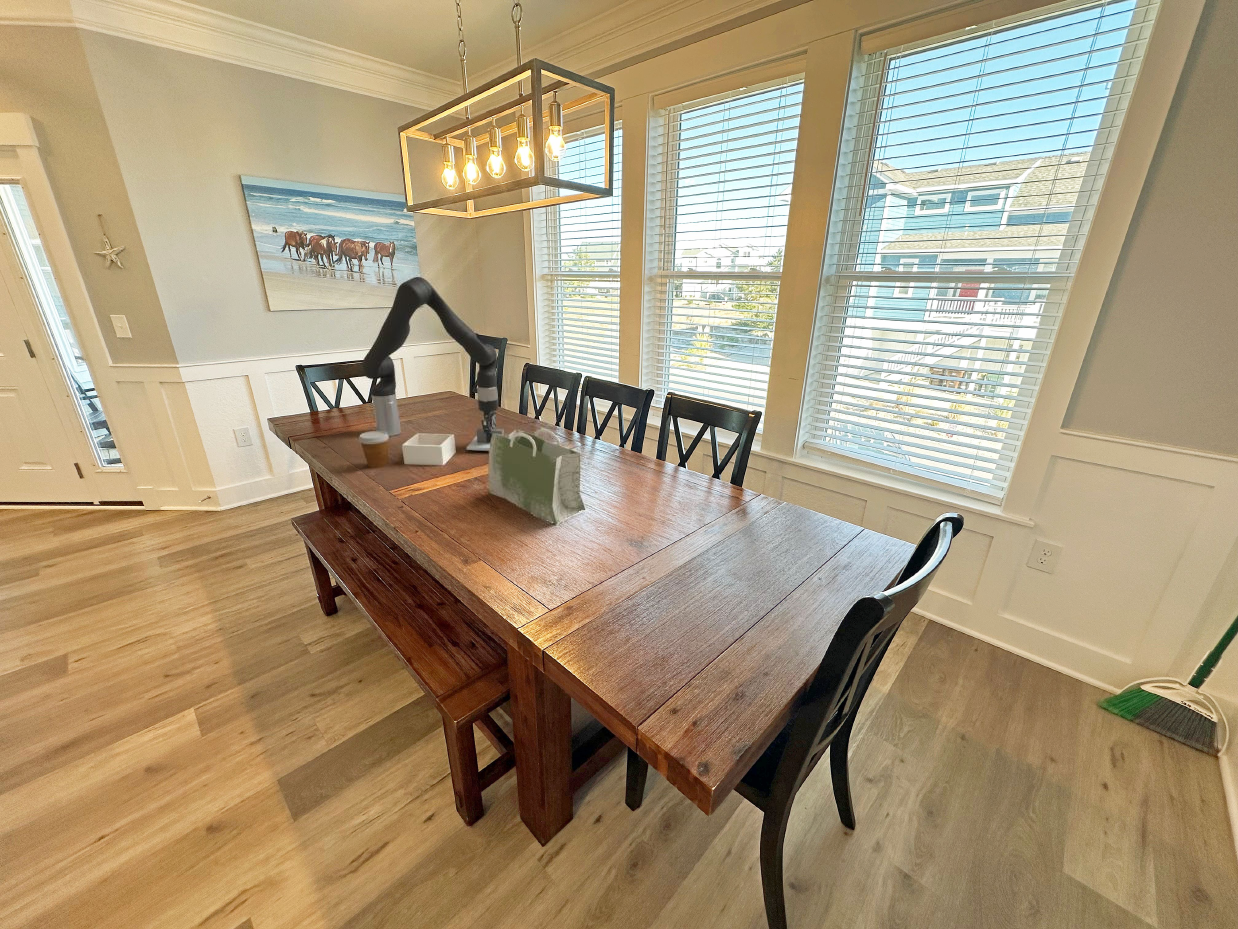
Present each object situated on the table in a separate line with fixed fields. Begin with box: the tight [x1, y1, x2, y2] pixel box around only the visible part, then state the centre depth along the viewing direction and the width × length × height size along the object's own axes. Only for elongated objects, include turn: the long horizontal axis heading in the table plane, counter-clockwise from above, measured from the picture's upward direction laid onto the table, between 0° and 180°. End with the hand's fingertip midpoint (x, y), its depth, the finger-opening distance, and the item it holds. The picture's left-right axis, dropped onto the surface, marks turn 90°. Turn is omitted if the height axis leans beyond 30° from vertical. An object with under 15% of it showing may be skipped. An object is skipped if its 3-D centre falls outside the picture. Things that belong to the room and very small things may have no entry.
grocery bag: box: [487, 428, 586, 525], centre depth 148 cm, size 32×14×23 cm, turn 50°
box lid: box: [466, 427, 505, 452], centre depth 193 cm, size 15×15×7 cm
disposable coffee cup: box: [358, 430, 390, 469], centre depth 172 cm, size 10×10×12 cm
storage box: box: [401, 432, 457, 466], centre depth 181 cm, size 14×14×8 cm
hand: (490, 440), depth 194 cm, fingers closed on box lid, 3 cm apart
